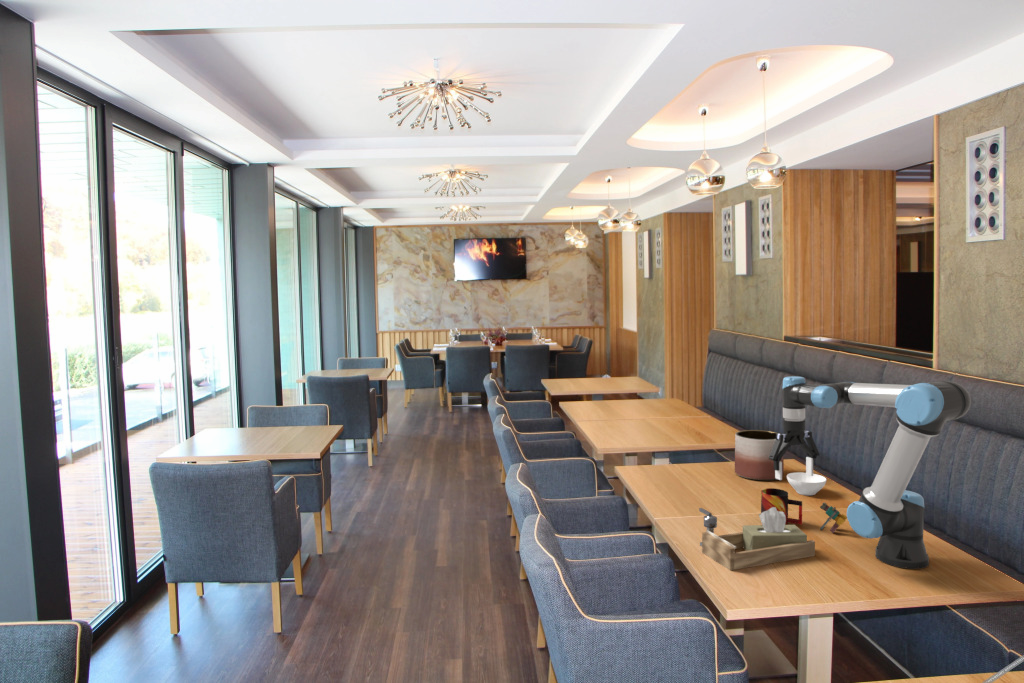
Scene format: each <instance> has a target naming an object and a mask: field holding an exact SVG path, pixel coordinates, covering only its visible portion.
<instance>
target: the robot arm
mask: <svg viewBox="0 0 1024 683" xmlns="http://www.w3.org/2000/svg"><path fill="white" fill-rule="evenodd" d="M835 405H857V406H858V405H860V406H861V405H862V406H874V407H887V408H895V409H896V421H897V423H898V427H897V429H896V431H895V434H894V436H893V438H892V440H891V443H890V445H889V446H888V449H887V452H885V453H886V454H885V456H884V458H883V460H882V462H881V464H880V467H879V468H878V471H877V473H876V475H875V477H874V479H873V482H872V484H871V486H868V487H865V488H863V490H862V493H861V495H860V497H859V499H858V500H856V501H853V502H852V503H850V504H849V505H848V507H847V509H846V516H847V519H846V520H847V521H848V522H849V523H848V524H849V527H851V529H852V530H853V532H855V533H856V534H857V535H858V536H860V537H861V538H865V539H878V538H879V540H878V542H877V545H876V547H875V553H874V556H875V558H876V559H877V560H878V561H880V562H882V563H885V564H887V565H890V566H893V567H898V568H901V569H909V570H920V569H921V570H922V569H926V568H927V567H928V566H929V565H930V557H929V554H928V553H927V549H926V548H927V547H926V546H925V542H924V527H925V525H924V524H925V523H924V522H925V519H924V518H925V508H926V506H925V500H924V497H923V496H922V494H920V493H917V492H914V491H911V490H906V489H907V487H908V485H909V483H910V481H911V479H912V477H913V475H914V473H915V471H916V469H917V466H918V465H919V462H920V461H921V458H922V456H923V454H924V453H925V450H926V449H927V446H928V444H929V442H930V440H931V438H932V437H937V436H939V435H940V434H941V431H942V430H943V427H944V425H945V423H946V422H948V421H955V420H958V419H960V418H962V417H963V416H965V415H966V414H967V412H969V411H970V408H971V405H972V399H971V395H970V393H969V391H968V390H967V389H966V388H965V387H964V386H963V385H961V384H959V383H957V382H955V381H952V380H944V381H935V382H920V383H915V384H894V383H893V384H892V383H889V384H888V383H871V382H870V383H867V382H866V383H865V382H863V383H862V382H854V381H842V382H836V383H835V382H834V383H825V384H810V383H806V378H805V377H803V376H795V375H794V376H785V377H784V378H783V379H782V418H783V419H782V430H783V433H779V432H776V433H777V434H776V440H775V443H774V445H773V448H772V450H771V453H770V455H769V459H770V460H773V461H774V470H775V478H776V479H777V480H779V481H782V480H783V476H782V462H781V461H780V460H781V459H782V457H783V456H785V454H786V452H787V451H788V449H789V448H791V447H792V446H800V447H801V449H802V450H803V452H804V453H805V454H806V457H805V473H806V475H809V476H813V474H814V467H815V459H817V457H818V456H820V451H819V450H818V448H817V445H816V443H815V440H814V438H813V432H812V431H810V430H806V420H805V419H806V406H810V407H815V408H820V409H823V408H825V409H831V408H833V407H834V406H835ZM804 438H805V439H804Z"/></svg>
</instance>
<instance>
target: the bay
mask: <svg viewBox="0 0 1024 683" xmlns="http://www.w3.org/2000/svg"><path fill="white" fill-rule="evenodd" d="M701 542H702V546H701V547H702V548H701V552H702V554H704V555H706V556H707V557H709V558H710V559H712V560H713V561H715V562H717V564H720V565H721V566H722V567H725V568H726V569H727V570H728V571H735V570H740V569H745V568H753V567H758V566H764V565H769V564H774V563H781V562H787V561H793V560H798V559H803V558H810V557H815V556H816V541H815V540H813V539H810V540H807V542H802V543H791V544H785V545H779V546H773V547H767V548H761V549H755V550H749V551H746V550H743V551H737V552H735V550H736V549H742V548H743V531H741V532H734V533H728V534H721V535H717V534H715V533H714V534H713V533H712V532H710V531H708V530H707V529H706V530H705V532H704V531H703V532H702V534H701ZM743 549H744V548H743Z"/></svg>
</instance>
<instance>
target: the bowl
mask: <svg viewBox="0 0 1024 683" xmlns="http://www.w3.org/2000/svg"><path fill="white" fill-rule="evenodd" d="M786 479H787V482H788V483H789V485H790V486H791V487H792V488H793V489H794V490H795V492H796V493H797V494H798V495H802V496H815V495H816V494H817V493H818V492H819V491H820V490H822V489H823V488H824V486H826V484H827V478H826V477H825V476H823V475H822V474H821V475H820V474H818V473H817V474H816V473H813V476H809V475H806V472H799V471H798V472H790V473H787V475H786Z"/></svg>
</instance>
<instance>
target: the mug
mask: <svg viewBox="0 0 1024 683" xmlns="http://www.w3.org/2000/svg"><path fill="white" fill-rule="evenodd" d="M760 495H761V496H760V498H761V499H760V514H761V513H762V512H764V511H767V510H769V509H770V508H772V507H776V509H777V511H780V512H784V514H785V516H786V522H785V525H787V524H788V523H789V524H790V523H791V524H794V525H803V500H796V499H790V498H789V492H788V491H787V490H784V489H781V488H772V487H771V488H769V487H768V488H763V489H761V491H760ZM789 505H790V506H792V505H793V506H798V519H797V518H793V517H789ZM789 524H788V525H789Z"/></svg>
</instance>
